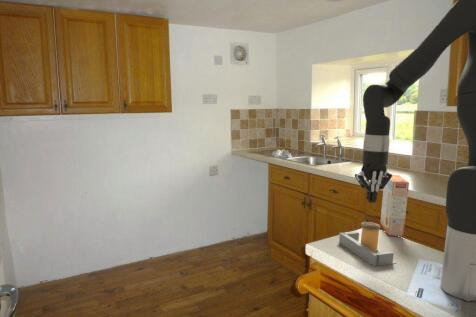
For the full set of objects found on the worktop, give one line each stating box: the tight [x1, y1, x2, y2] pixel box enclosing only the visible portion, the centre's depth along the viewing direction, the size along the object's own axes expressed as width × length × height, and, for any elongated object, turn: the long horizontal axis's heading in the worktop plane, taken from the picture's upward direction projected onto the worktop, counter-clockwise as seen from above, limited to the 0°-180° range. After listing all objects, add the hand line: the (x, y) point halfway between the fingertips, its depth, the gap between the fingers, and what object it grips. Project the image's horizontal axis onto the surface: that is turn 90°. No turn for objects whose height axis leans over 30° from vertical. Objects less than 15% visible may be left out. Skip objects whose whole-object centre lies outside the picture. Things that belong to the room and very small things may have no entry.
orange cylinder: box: [360, 221, 382, 252], centre depth 112 cm, size 6×6×9 cm
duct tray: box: [338, 230, 397, 267], centre depth 112 cm, size 19×8×4 cm, turn 16°
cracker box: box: [379, 174, 410, 238], centre depth 132 cm, size 14×6×21 cm, turn 168°
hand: (371, 202), depth 110 cm, fingers closed
